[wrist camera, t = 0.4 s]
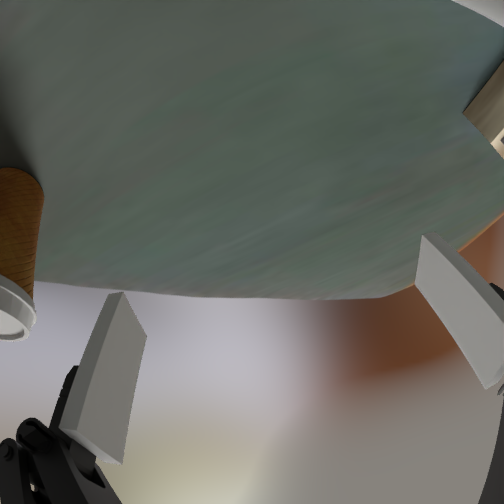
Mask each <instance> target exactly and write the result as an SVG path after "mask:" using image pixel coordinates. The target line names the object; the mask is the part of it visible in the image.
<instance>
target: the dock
mask: <svg viewBox="0 0 504 504" xmlns="http://www.w3.org/2000/svg"><path fill="white" fill-rule="evenodd" d="M463 114H464V115H465V116H466V117H467V118H468V119H469V121H470V122H471V123H472V124H473V125H474V126H475V127H476V128H477V129H478V130H479V131H480V132H481V133H482V134H483V135H484V137H485V138H486V139H487V140H488V141H489V142H490V143H491V144H492V146H493V147H494V148H495V149H496V150H497V151H498V153H499V154H500V155H501V156H502V157H503V159H504V60H503V62H502V63H501V65H500V66H499V67H498V69H497V70H496V71H495V73H494V74H493V75H492V77H491V78H490V79H489V80H488V82H487V83H486V84H485V86H484V87H483V88H482V90H481V91H480V92H479V93H478V95H477V96H476V97H475V98H474V100H473V101H472V102H471V103H470V105H469V106H468V107H467V108H466V110H465V111H464V112H463Z"/></svg>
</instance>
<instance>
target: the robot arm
mask: <svg viewBox="0 0 504 504" xmlns="http://www.w3.org/2000/svg"><path fill="white" fill-rule="evenodd" d="M415 285H416V286H417V288H418V289H419V290H420V292H421V293H422V294H423V296H424V297H425V299H426V300H427V301H428V303H429V304H430V305H431V307H432V308H433V309H434V311H435V312H436V314H437V315H438V317H439V318H440V319H441V321H442V322H443V324H444V325H445V327H446V328H447V330H448V331H449V332H450V334H451V335H452V337H453V338H454V340H455V341H456V343H457V344H458V346H459V348H460V349H461V351H462V352H463V354H464V355H465V357H466V358H467V360H468V362H469V363H470V365H471V367H472V368H473V370H474V371H475V373H476V375H477V377H478V378H479V380H480V382H481V383H482V385H483V387H484V389H487V388H489V387H491V386H492V385H494V384H496V383H497V382H499V381H500V379H501V378H502V376H503V375H504V291H503V290H502V289H501V288H500V287H498V286H496V285H495V284H493V283H490V284H488V283H487V282H486V281H485V280H484V279H483V278H482V277H481V276H480V274H478V273H477V271H476V270H475V269H474V268H473V267H472V266H471V265H470V264H469V263H468V262H467V261H466V260H465V259H464V258H463V257H462V256H461V255H460V254H459V253H458V252H457V251H455V250H454V249H453V248H452V247H451V246H450V245H449V244H448V243H447V242H446V241H445V240H444V239H443V238H442V237H440V236H439V235H438V234H437V233H436V232H432V233H427V234H422V239H421V247H420V254H419V261H418V267H417V273H416V279H415ZM146 338H147V335H146V334H145V332H144V330H143V328H142V326H141V325H140V323H139V321H138V319H137V317H136V315H135V313H134V312H133V310H132V308H131V306H130V304H129V302H128V300H127V298H126V296H125V294H124V292H119V293H113V294H109V295H108V297H107V299H106V301H105V303H104V306H103V308H102V310H101V312H100V315H99V317H98V319H97V322H96V324H95V327H94V329H93V331H92V334H91V336H90V339H89V341H88V344H87V346H86V349H85V351H84V354H83V357H82V359H81V362H80V365H79V366H73V368H72V369H71V370H70V372H69V373H68V374H67V376H66V378H65V381H64V384H63V389H62V390H61V392H60V395H59V396H60V398H58V401H57V404H56V407H55V410H54V413H53V416H52V419H51V423H50V426H49V428H47V427H46V426H45V425H44V424H42V422H40V421H39V420H38V419H36V418H28V419H26V420H24V421H23V422H22V423H21V424H20V426H19V427H18V429H17V433H16V441H15V440H13V439H11V438H7V439H5V440H3V441H2V442H1V443H0V500H1V504H122V503H121V501H120V500H119V498H118V497H117V495H116V494H115V492H114V490H113V489H112V487H111V486H110V484H109V482H108V481H107V479H106V478H105V476H104V474H103V472H102V471H101V469H100V467H99V466H98V465H97V464H96V463H95V461H96V457H98V458H99V459H101V460H102V461H104V462H105V463H114V464H122V463H123V456H124V449H125V443H126V436H127V431H128V425H129V419H130V413H131V408H132V403H133V398H134V392H135V388H136V382H137V378H138V373H139V368H140V364H141V359H142V355H143V351H144V346H145V342H146ZM503 390H504V384H503V385H502V386H501V388H500V389H499V391H498V395H500V394H501V392H502V391H503ZM503 396H504V394H503ZM30 483H31V484H32V485H34V488H35V489H34V491H32V490H31V485H30ZM478 504H504V400H503V407H502V414H501V420H500V426H499V431H498V436H497V441H496V445H495V450H494V454H493V458H492V462H491V465H490V469H489V472H488V476H487V479H486V482H485V485H484V488H483V491H482V494H481V497H480V500H479V503H478Z"/></svg>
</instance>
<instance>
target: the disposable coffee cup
mask: <svg viewBox="0 0 504 504" xmlns="http://www.w3.org/2000/svg"><path fill="white" fill-rule="evenodd" d="M43 203H44V194H43V191H42V189H41V187H40V185H39V184H38V182H37V181H36V180H35V179H34V178H33V177H32V176H30V175H29V174H28V173H26V172H24V171H22V170H19V169H16V168H1V169H0V341H11V342H14V341H22V340H25V339H26V338H27V337H28V336H29V333H30V330H31V327H32V325H34V324H35V322H36V320H37V315H36V311H35V305H34V302H33V286H34V285H33V284H34V271H35V258H36V250H37V241H38V233H39V226H40V220H41V214H42V208H43Z"/></svg>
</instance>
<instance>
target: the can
mask: <svg viewBox="0 0 504 504" xmlns="http://www.w3.org/2000/svg"><path fill="white" fill-rule="evenodd" d="M452 1H454V2H457V3H459V4H461V5H463V6H465V7H467V8H469V9H471V10H473V11H475V12H477V13H479V14H481V15H483V16H485V17H487V18H489V19H491V20H492V21H494V22H496V23H498V24H499V25H501V26H503V27H504V0H452Z"/></svg>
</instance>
